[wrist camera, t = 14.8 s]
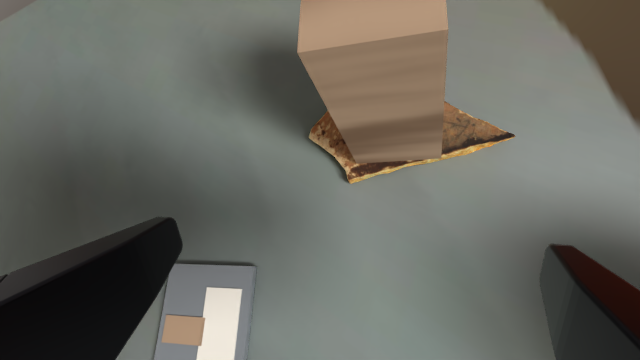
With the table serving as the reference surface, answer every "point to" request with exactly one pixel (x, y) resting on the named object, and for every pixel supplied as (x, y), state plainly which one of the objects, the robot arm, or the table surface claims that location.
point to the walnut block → (379, 73)
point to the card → (206, 313)
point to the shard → (456, 140)
